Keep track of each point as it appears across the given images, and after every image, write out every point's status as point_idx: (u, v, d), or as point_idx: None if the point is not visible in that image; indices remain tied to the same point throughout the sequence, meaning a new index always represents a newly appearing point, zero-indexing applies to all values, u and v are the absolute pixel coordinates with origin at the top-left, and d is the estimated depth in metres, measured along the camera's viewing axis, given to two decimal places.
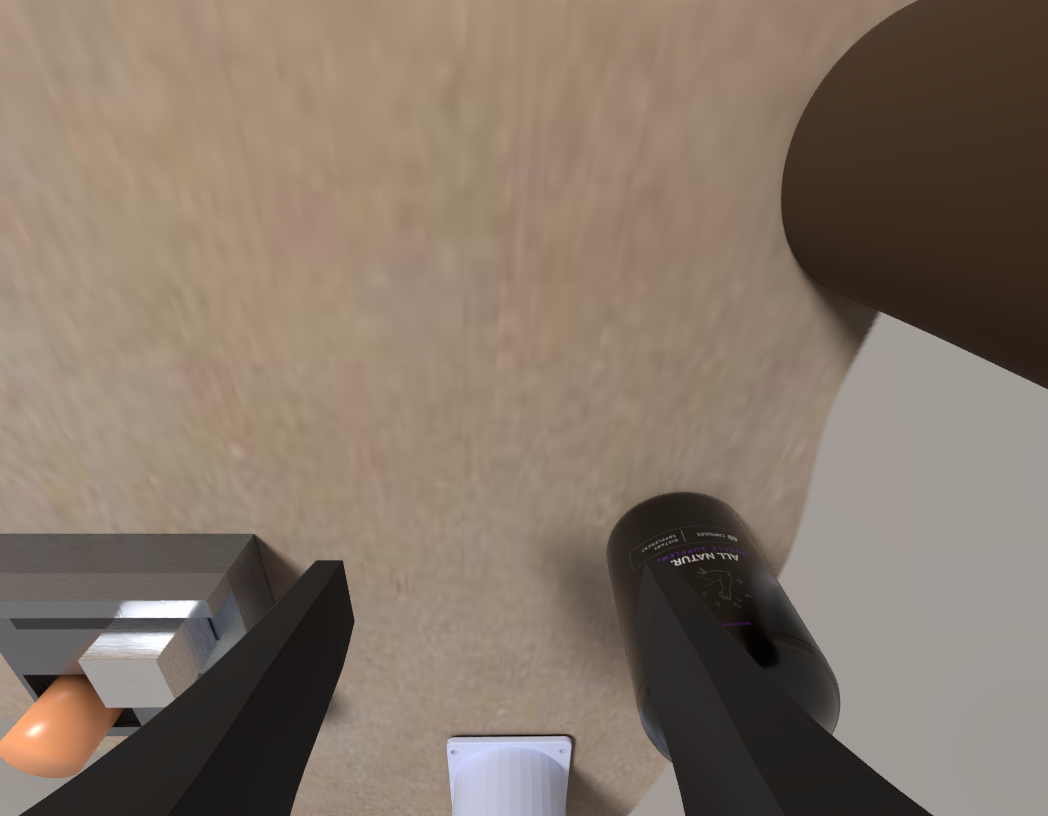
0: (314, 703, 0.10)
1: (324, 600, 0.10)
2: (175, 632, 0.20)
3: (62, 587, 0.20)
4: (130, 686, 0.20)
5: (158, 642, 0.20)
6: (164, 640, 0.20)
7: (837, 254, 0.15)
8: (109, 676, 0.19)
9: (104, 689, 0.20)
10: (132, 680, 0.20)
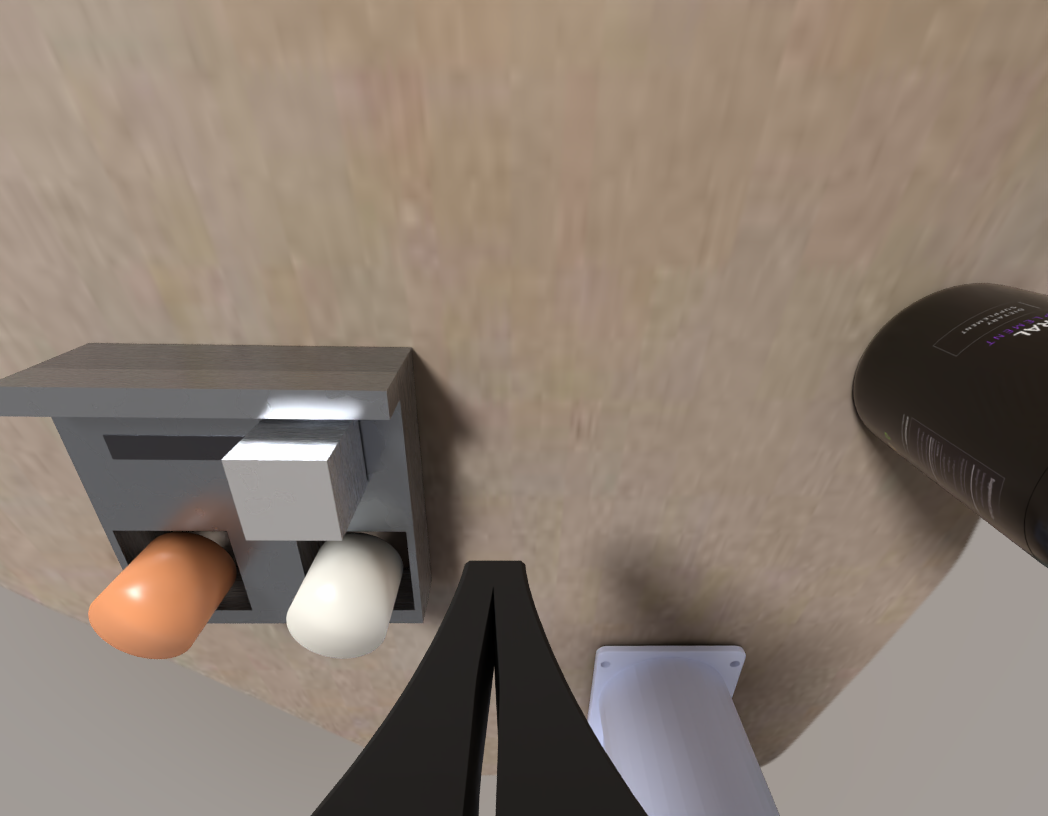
0: (486, 702, 0.10)
1: (492, 600, 0.10)
2: (341, 438, 0.15)
3: (188, 379, 0.15)
4: (284, 504, 0.15)
5: (322, 445, 0.15)
6: (328, 444, 0.15)
7: None
8: (259, 487, 0.14)
9: (248, 509, 0.15)
10: (289, 495, 0.14)
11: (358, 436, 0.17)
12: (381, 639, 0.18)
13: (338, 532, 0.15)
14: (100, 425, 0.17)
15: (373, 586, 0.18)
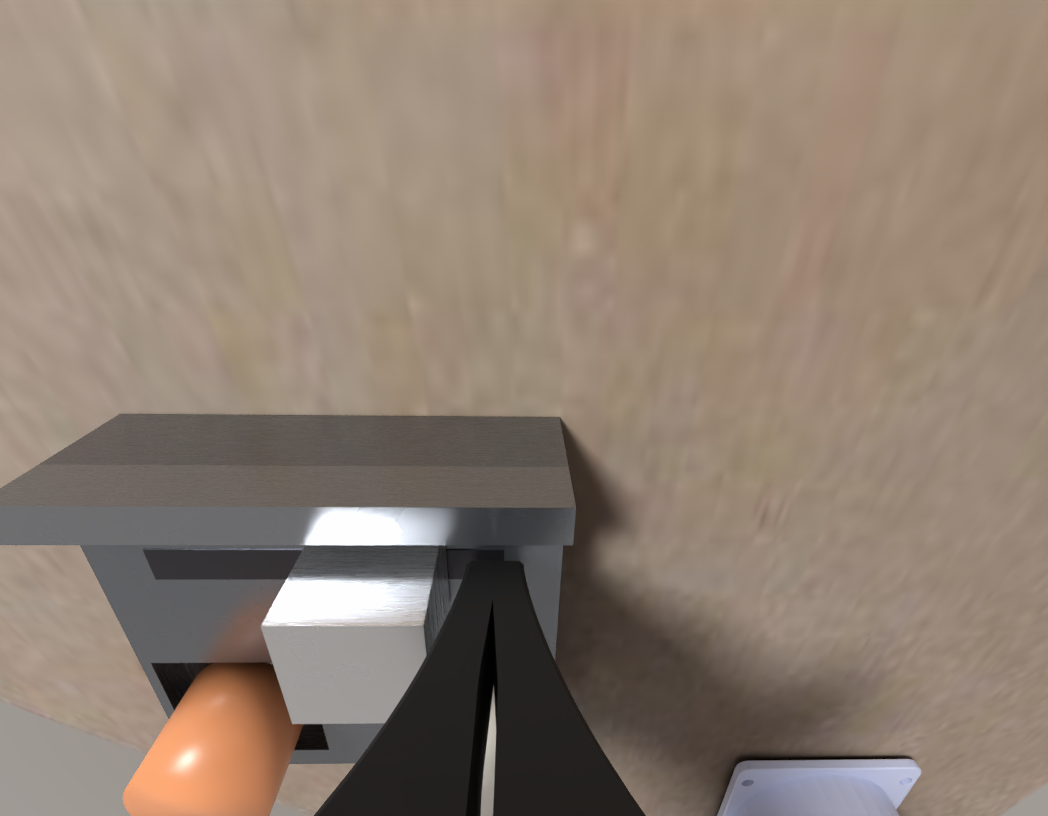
0: (488, 702, 0.10)
1: None
2: (433, 574, 0.10)
3: (275, 485, 0.10)
4: (353, 681, 0.10)
5: (409, 590, 0.10)
6: (418, 588, 0.10)
7: None
8: (317, 660, 0.09)
9: (299, 687, 0.10)
10: (362, 669, 0.10)
11: (445, 552, 0.12)
12: None
13: None
14: None
15: None
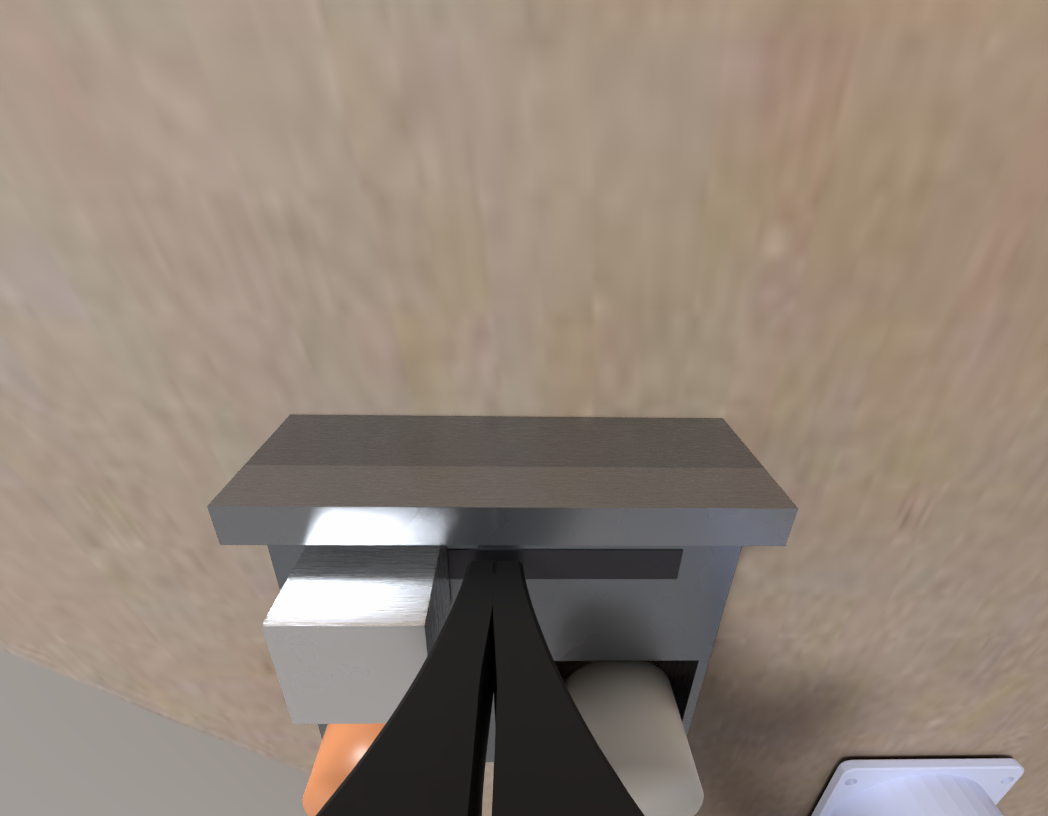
0: (489, 702, 0.10)
1: None
2: (434, 574, 0.10)
3: (491, 486, 0.10)
4: (354, 681, 0.10)
5: (410, 591, 0.10)
6: (420, 588, 0.10)
7: None
8: (318, 660, 0.09)
9: (300, 687, 0.10)
10: (362, 669, 0.10)
11: (445, 551, 0.12)
12: None
13: None
14: None
15: (683, 748, 0.13)
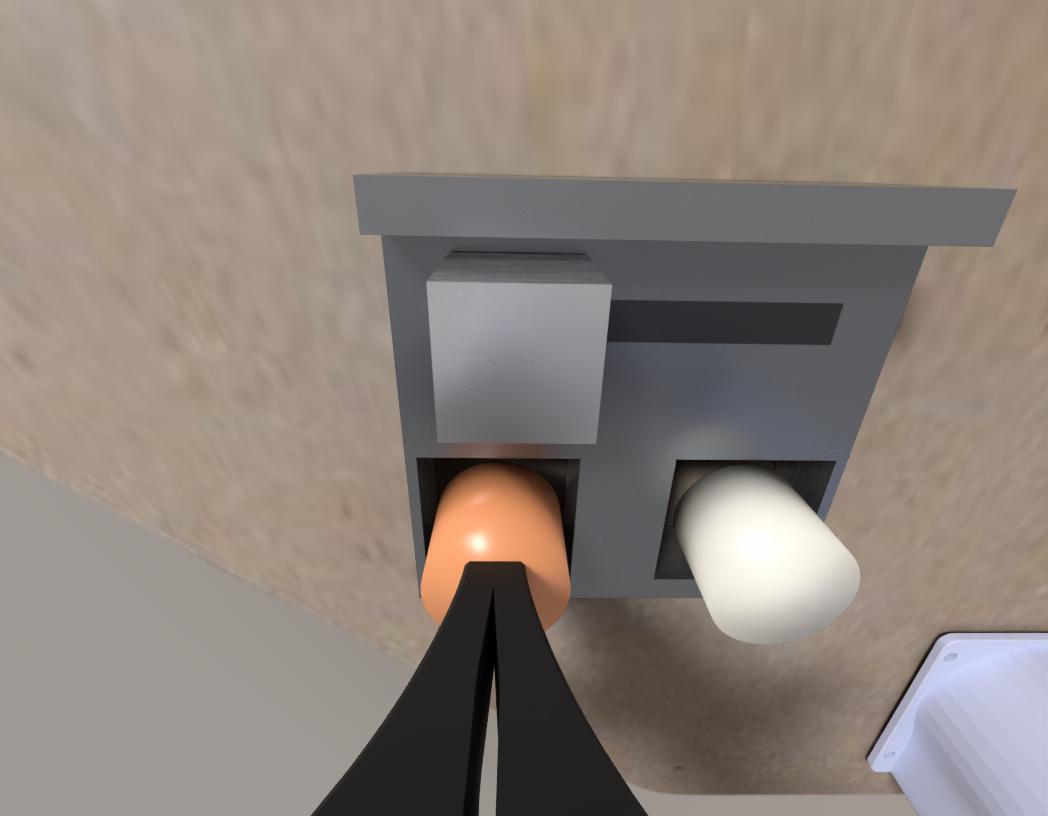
0: (486, 702, 0.10)
1: (492, 600, 0.10)
2: (599, 271, 0.09)
3: None
4: (517, 374, 0.08)
5: (580, 274, 0.09)
6: (589, 273, 0.09)
7: None
8: (482, 338, 0.08)
9: (454, 383, 0.09)
10: (530, 355, 0.08)
11: None
12: (836, 615, 0.12)
13: (595, 428, 0.09)
14: None
15: (834, 535, 0.12)
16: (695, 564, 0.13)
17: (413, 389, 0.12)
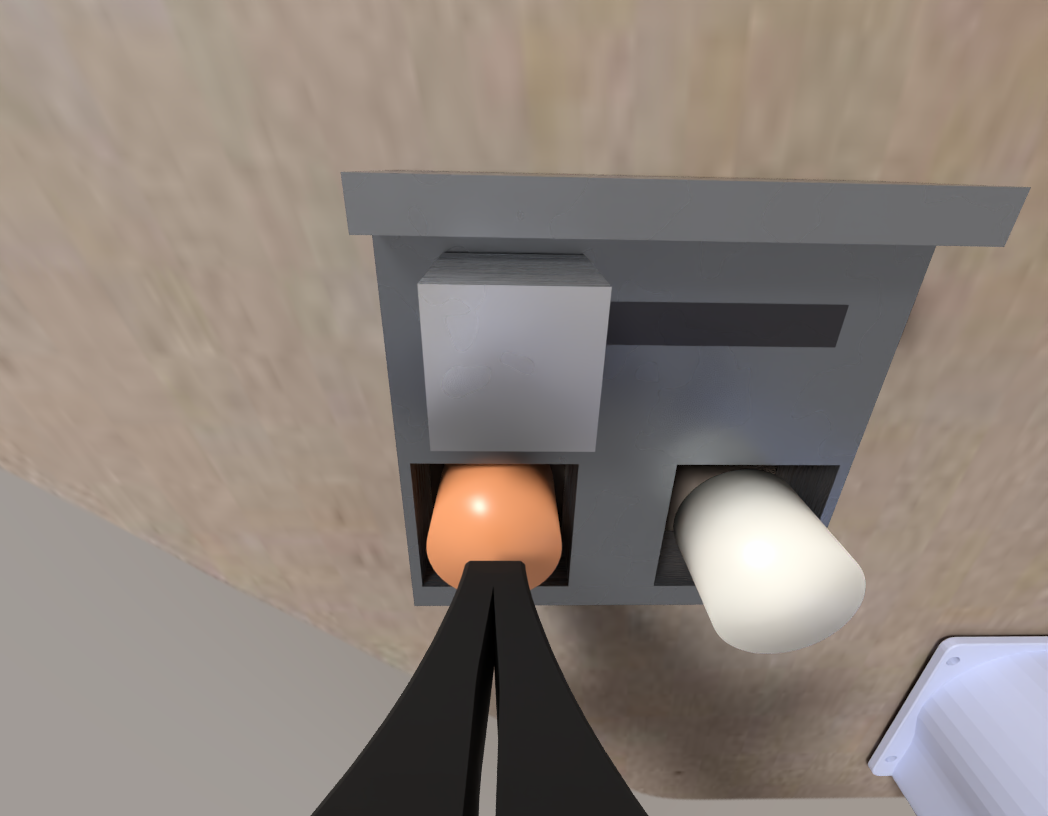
0: (486, 702, 0.10)
1: (492, 599, 0.10)
2: (598, 272, 0.09)
3: (661, 177, 0.09)
4: (513, 380, 0.08)
5: (579, 275, 0.08)
6: (587, 274, 0.08)
7: None
8: (476, 343, 0.08)
9: (448, 390, 0.08)
10: (526, 361, 0.08)
11: None
12: (841, 624, 0.12)
13: (594, 435, 0.09)
14: None
15: None
16: (696, 572, 0.12)
17: (406, 393, 0.12)
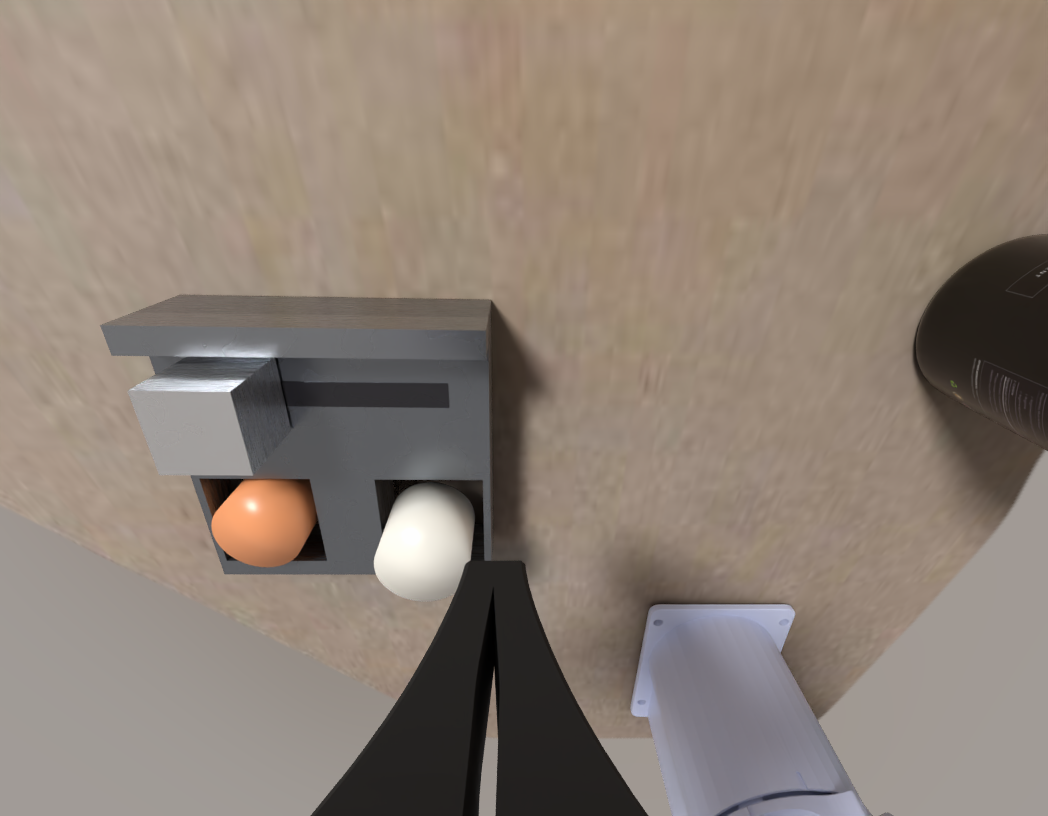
0: (486, 702, 0.10)
1: (492, 600, 0.10)
2: (251, 376, 0.16)
3: (292, 321, 0.16)
4: (193, 437, 0.15)
5: (230, 380, 0.15)
6: (237, 379, 0.15)
7: None
8: (167, 419, 0.15)
9: (159, 442, 0.15)
10: (197, 428, 0.15)
11: (276, 379, 0.17)
12: None
13: (248, 466, 0.16)
14: None
15: (456, 529, 0.18)
16: None
17: None
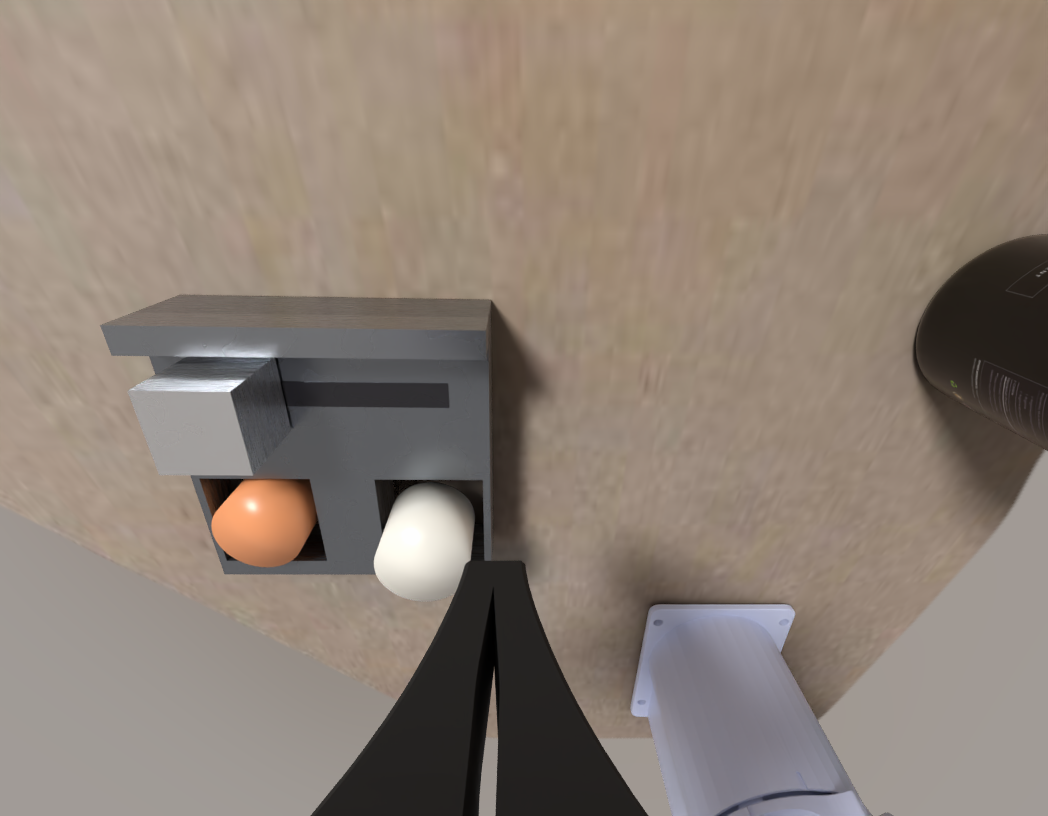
0: (486, 702, 0.10)
1: (492, 600, 0.10)
2: (251, 376, 0.16)
3: (292, 321, 0.16)
4: (193, 437, 0.15)
5: (230, 380, 0.15)
6: (237, 379, 0.15)
7: None
8: (167, 419, 0.15)
9: (159, 442, 0.15)
10: (197, 428, 0.15)
11: (276, 379, 0.17)
12: None
13: (248, 466, 0.16)
14: None
15: (456, 529, 0.18)
16: None
17: None
